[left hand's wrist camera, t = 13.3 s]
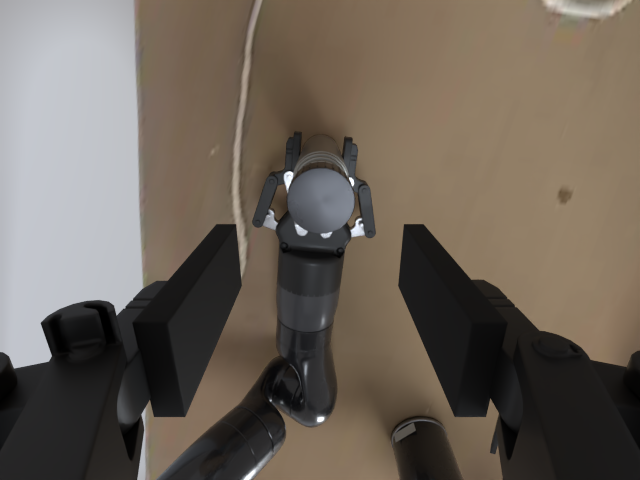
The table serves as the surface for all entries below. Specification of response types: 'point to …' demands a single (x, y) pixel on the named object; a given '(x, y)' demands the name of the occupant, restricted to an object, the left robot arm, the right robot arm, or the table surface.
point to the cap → (320, 197)
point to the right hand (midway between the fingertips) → (323, 135)
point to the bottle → (320, 153)
